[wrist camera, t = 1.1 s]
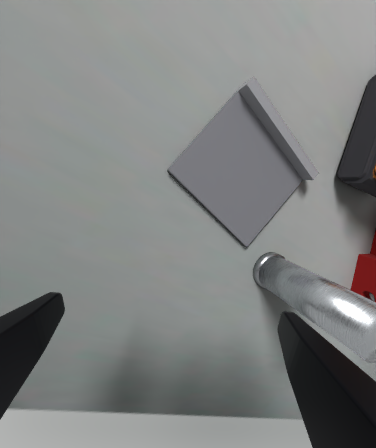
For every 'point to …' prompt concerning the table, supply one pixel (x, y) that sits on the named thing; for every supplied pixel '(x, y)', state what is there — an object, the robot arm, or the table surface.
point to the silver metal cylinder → (322, 303)
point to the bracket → (244, 163)
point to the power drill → (362, 146)
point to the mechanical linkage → (366, 273)
